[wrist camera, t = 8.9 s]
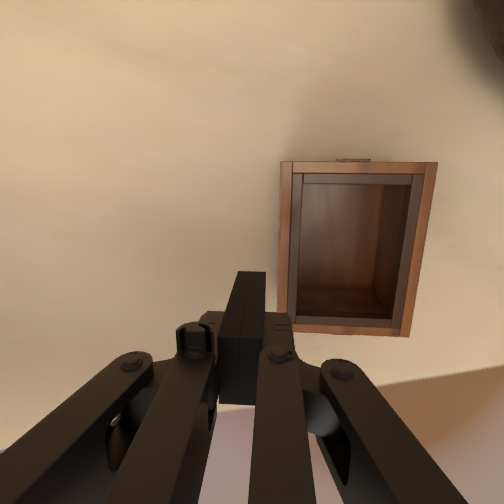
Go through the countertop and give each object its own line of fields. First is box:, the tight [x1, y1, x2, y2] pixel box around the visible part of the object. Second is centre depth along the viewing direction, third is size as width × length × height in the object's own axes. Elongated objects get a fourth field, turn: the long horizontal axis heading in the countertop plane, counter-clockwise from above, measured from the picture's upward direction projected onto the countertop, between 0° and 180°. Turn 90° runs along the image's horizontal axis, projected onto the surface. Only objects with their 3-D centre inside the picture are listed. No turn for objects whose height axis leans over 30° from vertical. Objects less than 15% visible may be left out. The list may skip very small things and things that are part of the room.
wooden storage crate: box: [277, 159, 438, 337], centre depth 28 cm, size 9×14×11 cm
